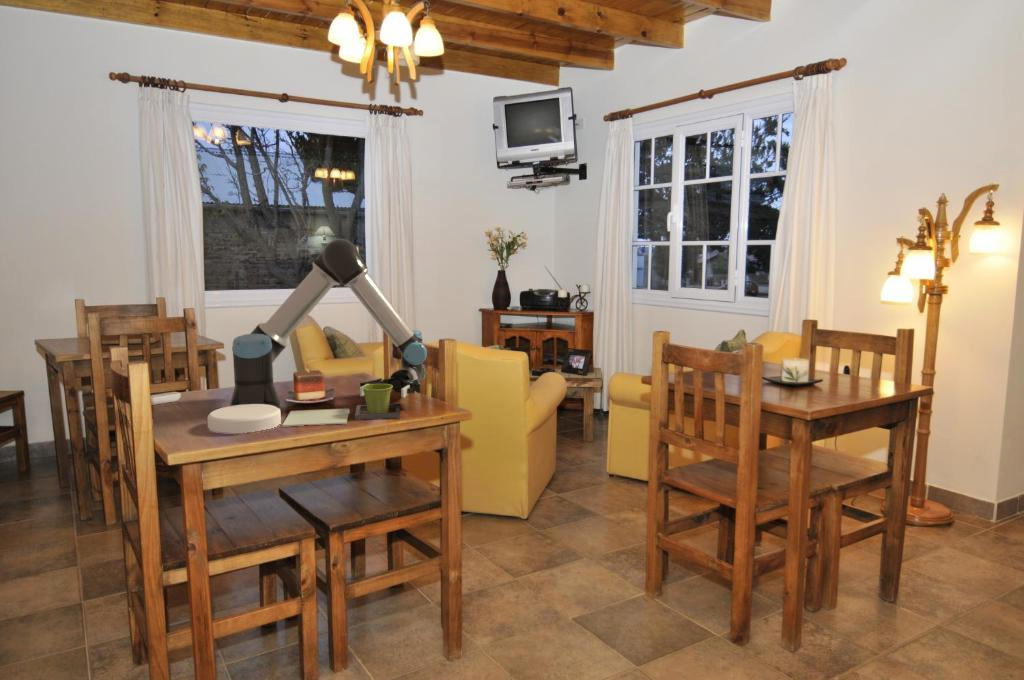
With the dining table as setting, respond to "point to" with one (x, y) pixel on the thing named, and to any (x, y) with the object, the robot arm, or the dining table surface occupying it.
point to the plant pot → (377, 397)
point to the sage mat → (316, 417)
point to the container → (244, 418)
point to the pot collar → (377, 415)
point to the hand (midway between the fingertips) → (381, 392)
